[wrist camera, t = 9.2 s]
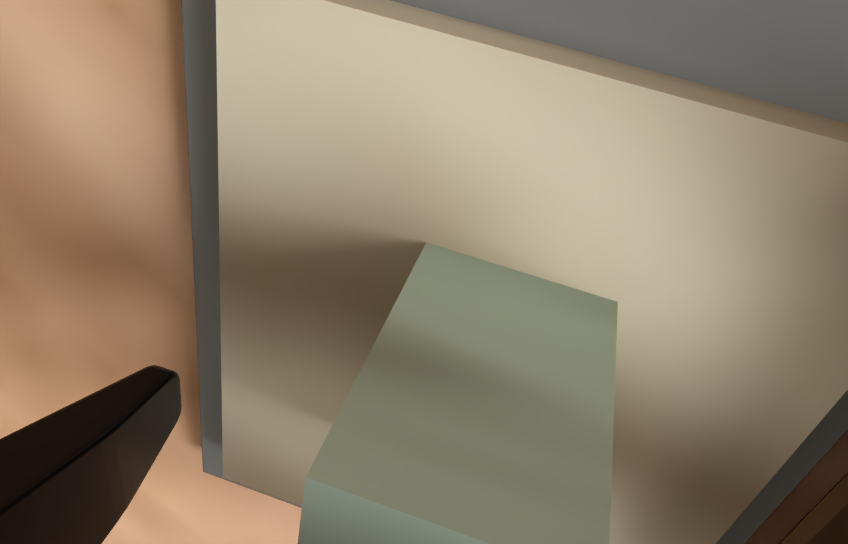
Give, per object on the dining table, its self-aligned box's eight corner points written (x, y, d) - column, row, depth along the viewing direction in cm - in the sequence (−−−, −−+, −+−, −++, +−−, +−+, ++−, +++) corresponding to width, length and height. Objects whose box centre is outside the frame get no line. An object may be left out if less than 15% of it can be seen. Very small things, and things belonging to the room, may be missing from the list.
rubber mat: (656, 613, 16) (658, 638, 15) (215, 453, 17) (203, 471, 17) (1137, 58, 7) (1171, 72, 7) (199, -174, 9) (173, -175, 8)
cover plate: (640, 595, 14) (643, 906, 10) (239, 451, 16) (92, 678, 11) (988, 161, 8) (1402, 537, 4) (245, -39, 9) (-104, 72, 5)
